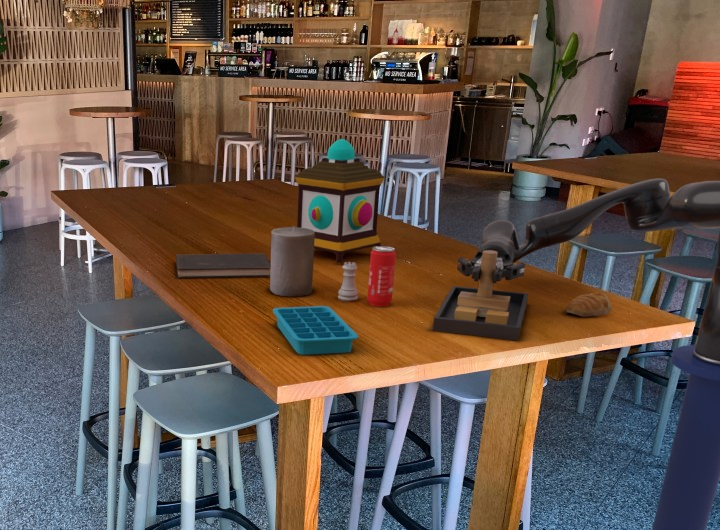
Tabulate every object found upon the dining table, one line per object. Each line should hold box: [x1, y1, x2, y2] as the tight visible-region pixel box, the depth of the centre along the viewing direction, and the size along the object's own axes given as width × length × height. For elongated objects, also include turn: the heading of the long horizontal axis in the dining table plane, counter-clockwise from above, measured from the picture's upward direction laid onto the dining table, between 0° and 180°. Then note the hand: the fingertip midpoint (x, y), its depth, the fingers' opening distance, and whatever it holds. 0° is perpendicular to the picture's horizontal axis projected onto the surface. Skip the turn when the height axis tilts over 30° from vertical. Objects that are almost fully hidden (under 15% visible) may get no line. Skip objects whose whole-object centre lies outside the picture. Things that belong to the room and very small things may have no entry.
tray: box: [432, 285, 529, 342], centre depth 161 cm, size 26×16×3 cm, turn 156°
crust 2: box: [485, 310, 509, 325], centre depth 155 cm, size 3×4×2 cm
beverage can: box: [366, 245, 397, 308], centre depth 168 cm, size 5×5×12 cm
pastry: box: [565, 292, 613, 318], centre depth 163 cm, size 9×7×4 cm
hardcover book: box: [175, 252, 271, 279], centre depth 198 cm, size 16×23×2 cm
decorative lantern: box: [294, 138, 386, 265], centre depth 209 cm, size 20×20×30 cm
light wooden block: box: [454, 307, 478, 321], centre depth 158 cm, size 3×4×2 cm
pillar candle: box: [269, 225, 315, 297], centre depth 177 cm, size 10×10×15 cm
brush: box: [457, 250, 510, 317], centre depth 157 cm, size 4×10×13 cm, turn 66°
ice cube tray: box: [272, 305, 359, 356], centre depth 149 cm, size 12×20×3 cm, turn 8°
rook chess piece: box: [337, 261, 359, 302], centre depth 172 cm, size 4×4×8 cm
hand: (485, 277), depth 154 cm, fingers closed on brush, 3 cm apart
